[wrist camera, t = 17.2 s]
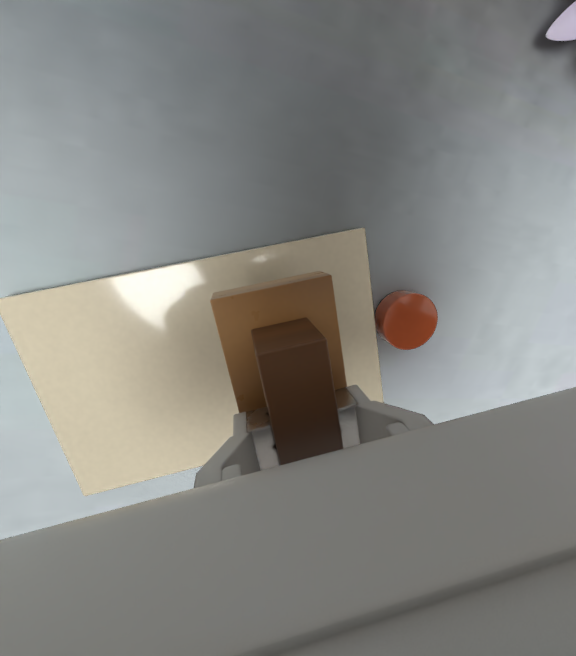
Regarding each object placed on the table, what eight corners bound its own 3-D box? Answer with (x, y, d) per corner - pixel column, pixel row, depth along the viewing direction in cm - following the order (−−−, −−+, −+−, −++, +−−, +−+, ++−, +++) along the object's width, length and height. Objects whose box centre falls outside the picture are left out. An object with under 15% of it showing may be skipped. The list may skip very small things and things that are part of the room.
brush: (214, 287, 16) (202, 318, 10) (312, 267, 16) (359, 284, 10) (260, 468, 19) (272, 577, 13) (340, 446, 19) (389, 541, 13)
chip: (382, 285, 22) (393, 288, 21) (432, 295, 23) (445, 299, 22) (367, 338, 23) (376, 345, 22) (415, 347, 24) (427, 354, 23)
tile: (91, 484, 23) (83, 497, 22) (7, 296, 19) (-8, 299, 18) (378, 410, 25) (385, 418, 24) (358, 228, 21) (365, 227, 20)
